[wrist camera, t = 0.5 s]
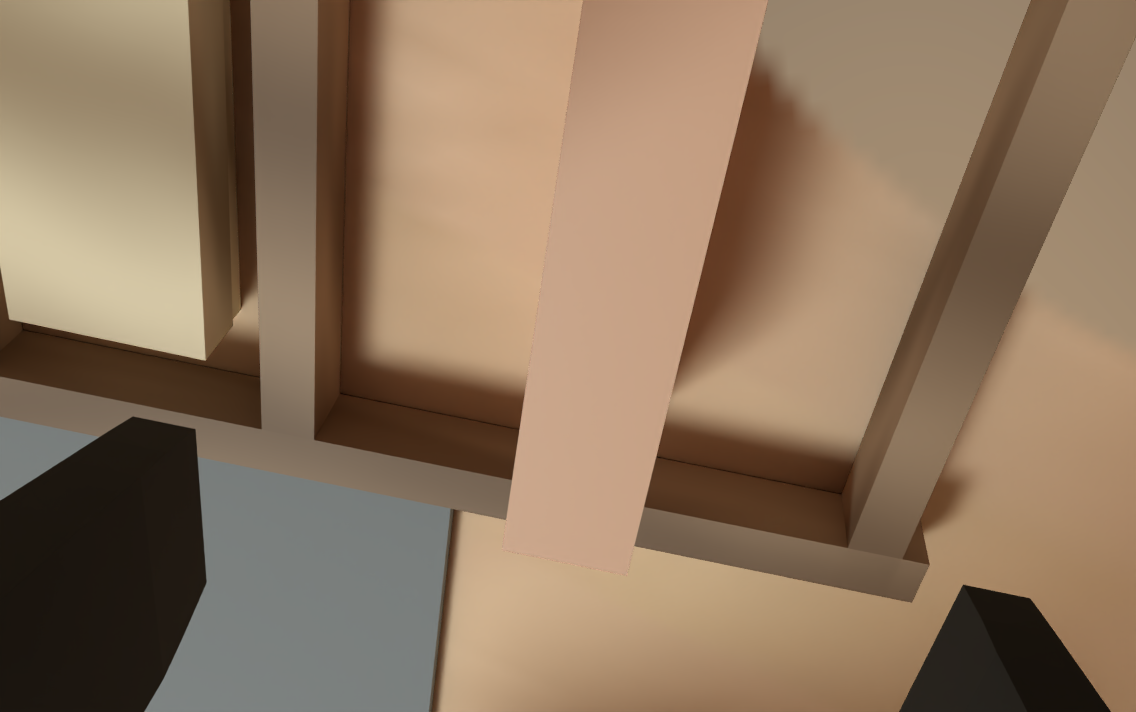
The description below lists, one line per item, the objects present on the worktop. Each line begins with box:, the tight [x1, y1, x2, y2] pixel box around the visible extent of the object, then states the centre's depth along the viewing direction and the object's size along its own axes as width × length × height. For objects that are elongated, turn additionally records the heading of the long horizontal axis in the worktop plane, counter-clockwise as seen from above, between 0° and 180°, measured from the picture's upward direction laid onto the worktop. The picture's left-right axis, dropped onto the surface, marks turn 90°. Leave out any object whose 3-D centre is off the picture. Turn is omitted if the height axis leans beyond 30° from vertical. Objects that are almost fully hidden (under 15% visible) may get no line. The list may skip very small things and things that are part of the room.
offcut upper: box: [0, 0, 233, 361], centre depth 17 cm, size 8×4×1 cm, turn 171°
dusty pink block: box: [502, 0, 768, 576], centre depth 16 cm, size 9×2×4 cm, turn 172°
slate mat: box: [0, 417, 454, 712], centre depth 24 cm, size 10×12×1 cm
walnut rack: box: [0, 0, 1136, 603], centre depth 17 cm, size 13×19×2 cm
